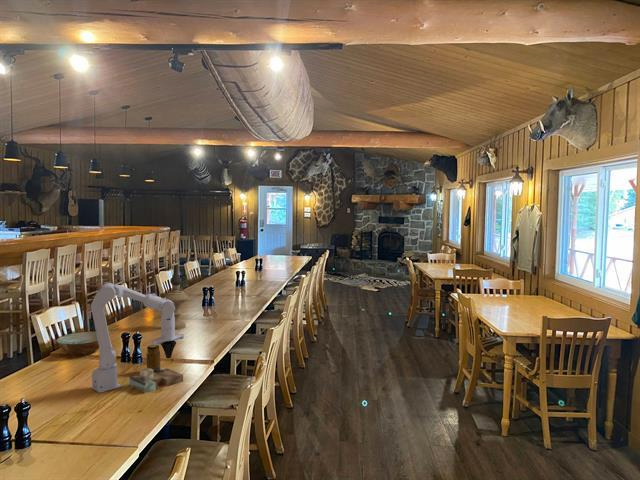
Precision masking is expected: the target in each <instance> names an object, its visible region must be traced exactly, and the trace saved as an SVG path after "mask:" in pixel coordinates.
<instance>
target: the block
mask: <svg viewBox="0 0 640 480" xmlns="http://www.w3.org/2000/svg"><path fill="white" fill-rule="evenodd" d="M139 376H140V380H142V381H149V380H152V379H154V375H153V370H152V369H150V368H147V367H146V368H141V369H140V370H139Z"/></svg>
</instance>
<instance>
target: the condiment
mask: <svg viewBox="0 0 640 480" xmlns="http://www.w3.org/2000/svg"><path fill="white" fill-rule="evenodd" d="M146 348H147V349H146V351H147V352H146V368H150V369H152V370H153V372H154V373H156V374H159V373H161V370H163V369H166V368H167V367H161V351H160V345H159V344H156V345H152V344H149V345H148V346H147V347H146Z"/></svg>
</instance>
